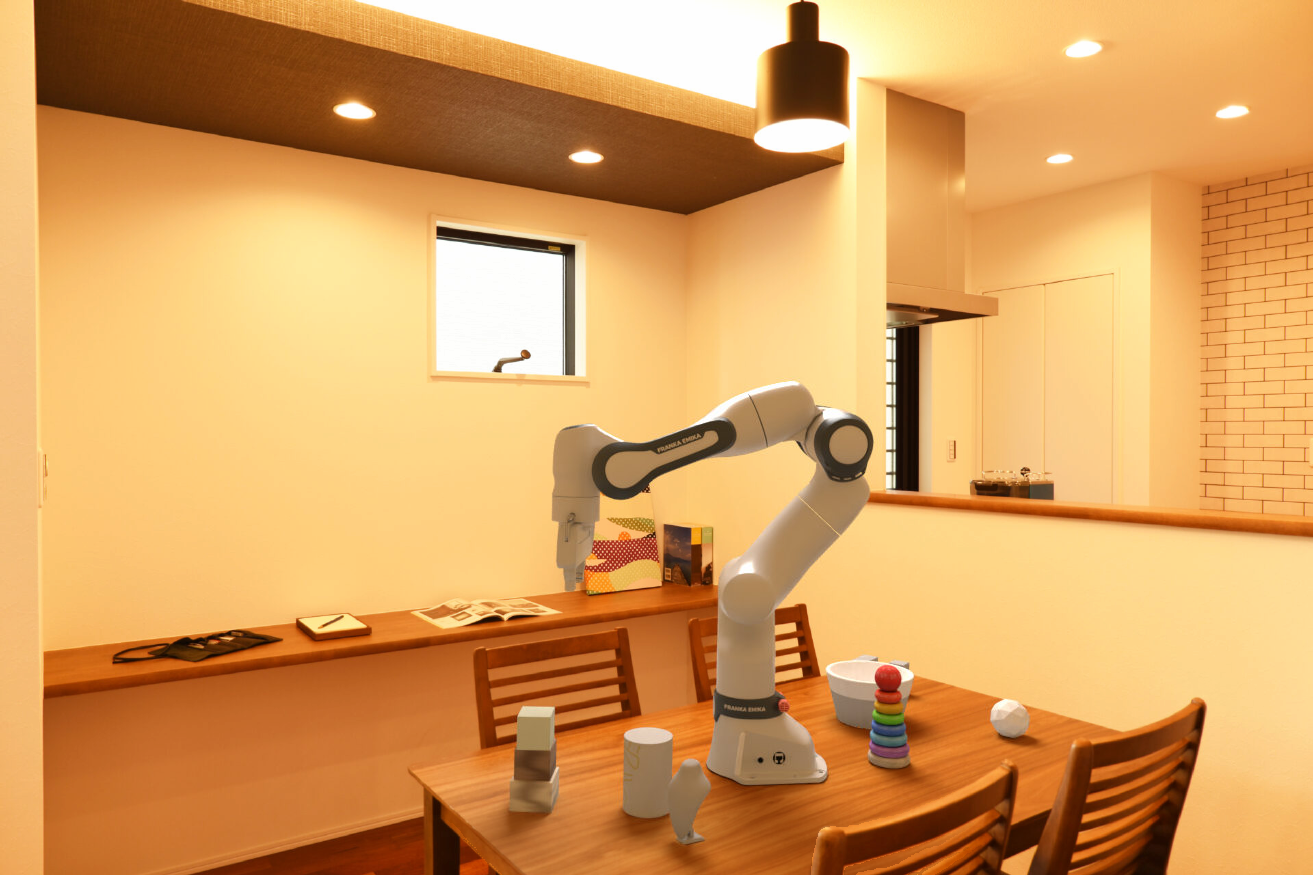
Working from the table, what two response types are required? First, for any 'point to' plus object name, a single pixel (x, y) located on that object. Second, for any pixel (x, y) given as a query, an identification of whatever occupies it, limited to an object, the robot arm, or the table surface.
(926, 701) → the table surface
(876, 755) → the stacking toy
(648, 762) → the white cylinder
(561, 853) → the table surface
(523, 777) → the walnut mid
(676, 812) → the figurine
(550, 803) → the maple base
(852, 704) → the bowl
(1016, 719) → the geometric ball
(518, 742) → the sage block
